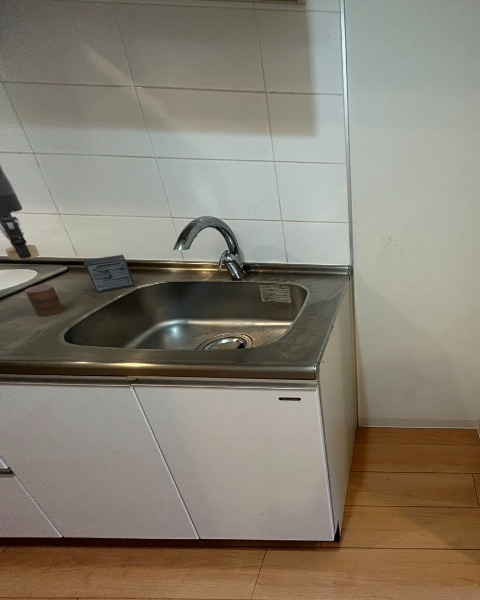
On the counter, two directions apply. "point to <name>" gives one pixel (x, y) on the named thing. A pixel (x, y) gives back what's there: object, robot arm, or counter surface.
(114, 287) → the small box
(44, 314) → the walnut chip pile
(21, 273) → the counter surface
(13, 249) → the beige short cylinder
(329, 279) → the counter surface
